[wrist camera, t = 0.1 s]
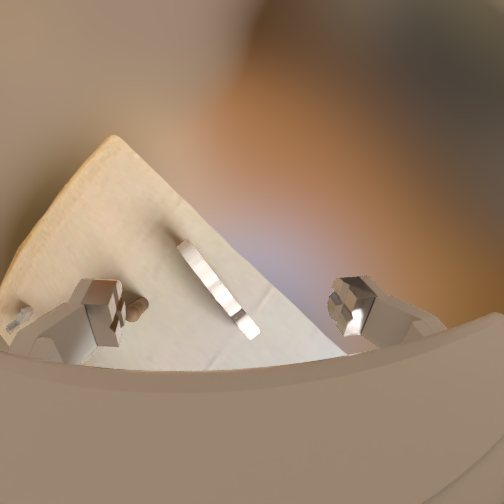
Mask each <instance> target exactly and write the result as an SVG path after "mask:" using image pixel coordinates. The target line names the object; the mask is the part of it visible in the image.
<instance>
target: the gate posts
mask: <svg viewBox="0 0 504 504" xmlns="http://www.w3.org/2000/svg"><path fill="white" fill-rule="evenodd" d="M125 308H126V320H127V321H129V322H135V321H137V320H138V319H139V317H140V315H141V314H142V313H143V312H144V311H145V310H146V309H147V308H148V301H147V300H146V299H145V298H139V299H137V300H136V301H135V302H133V303H132V304H130V305H127V306H126V307H125Z"/></svg>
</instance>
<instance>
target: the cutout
mask: <svg viewBox="0 0 504 504" xmlns="http://www.w3.org/2000/svg"><path fill="white" fill-rule="evenodd" d="M176 248H177V249H178V251H179V252H180V253H181V255H182V256H183V257H184V259H185V260H186V261H187V263H188V264H189V265H190V267H191V268H192V269H193V271H194V272H195V273H196V274H197V276H198V277H199V278H200V280H201V281H202V282H203V283H204V285H205V286H206V287H207V288H208V290H209V291H210V292H211V294H212V295H213V296H214V297H215V299H216V300H217V301H218V302H219V303H220V305H221V306H222V307H223V308H224V310H225V311H226V312H227V313H228V314H229V316H230V317H231V318H232V319H233V321H234V322H235V323H236V324H237V326H238V327H239V328H240V329H241V330H242V332H243V333H244V334H245V335H246V336H247V337H248V338H249V339H250V340H251V339H253V338H254V337H255V336H256V335H258V334H259V333H260V330H259V328H258V327H257V326H256V325H255V323H254V322H253V321H252V320H251V318H250V317H249V316H248V315H247V314H246V312H245V311H244V310H243V309H242V308H241V307H240V305H239V304H238V303H237V302H236V300H235V299H234V298H233V297H232V295H231V294H230V293H229V291H228V290H227V289H226V287H225V286H224V285H223V284H222V282H221V281H220V280H219V278H218V277H217V276H216V275H215V273H214V272H213V271H212V269H211V268H210V267H209V265H208V264H207V263H206V261H205V260H204V259H203V258H202V256H201V255H200V254H199V252H198V251H197V250H196V249H195V247H194V246H193V245H192V243H191V242H190V241H189V240H188V239H186V240H184V241H183V242H182V243H180V244H179V245H178V246H177V247H176Z"/></svg>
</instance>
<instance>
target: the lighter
mask: <svg viewBox="0 0 504 504" xmlns="http://www.w3.org/2000/svg"><path fill="white" fill-rule="evenodd" d="M32 313H33V309H32V308H31V307H30V306H28V307H25V308H21V310H20V312H19V314H18V316H17V318H16V320H14V321H13V322H12V323H10V324H9V325H8V326H7V328H6V330H7V331H8V333H9V334H11V333H12V332H14V331H15V330H16V329H17V328H19V325H20V324H21V323H23V322H26V321H28V320H29V318H30V316H31V314H32Z"/></svg>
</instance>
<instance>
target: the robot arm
mask: <svg viewBox="0 0 504 504" xmlns="http://www.w3.org/2000/svg"><path fill="white" fill-rule="evenodd" d="M332 288H333V290H334V292H333V293H332V294H331V295H330V296H329V300H328V312H329V315H330V316H331V318H332V319H334V320H336V321H337V327H338V329H339V330H340V332H341V334H342V335H343V336H349V335H357V334H361V335H362V336H363V337H364V338H366V339H367V340H369V341H370V342H371V343H373V344H374V345H376V346H377V347H379V348H380V349H375V350H371V351H366V352H362V353H357V354H351V355H346V356H341V357H335V358H329V359H323V360H317V361H310V362H304V363H296V364H288V365H280V366H270V367H260V368H247V369H232V370H212V371H144V370H125V369H111V368H100V367H90V366H81V364H82V363H83V362H84V361H85V359H86V358H87V357H88V356H89V355H90V354H91V353H92V352H93V351H94V350H95V349H96V348H97V346H108V347H119V345H120V341H121V337H122V331H121V328H122V327H123V326H124V324H125V319H126V308H125V301H124V300H123V299H122V297H121V294H122V291H123V290H122V285H121V282H120V280H112V279H94V278H83V279H81V280H80V281H79V283H78V285H77V287H76V288H75V290H74V292H73V294H72V296H71V297H70V299H69V301H68V303H63V304H62V305H60V306H58V307H57V308H55V309H53V310H52V311H50V312H49V313H47V314H45V315H44V316H42V317H41V318H39V319H37V320H36V321H34V322H33V323H31V324H30V325H28V326H26V327H25V328H23V329H22V330H20V331H19V332H18V333H17V335H16V336H15V338H14V340H13V342H12V344H11V346H10V347H9V350H8V351H7V352H3V351H0V504H504V315H503V314H500V313H491V314H489V315H487V316H484V317H482V318H479V319H476V320H474V321H471V322H468V323H466V324H463V325H460V326H457V327H454V328H451V329H447V328H446V327H445V326H444V325H443V324H442V323H441V321H440V320H439V319H438V318H437V317H436V316H434V315H432V314H430V313H428V312H425V311H424V310H421V309H419V308H417V307H415V306H413V305H410V304H408V303H406V302H404V301H402V300H399V299H397V298H395V297H393V296H388V295H387V294H386V293H385V292H384V291H383V290H382V289H381V288H380V287H379V286H378V285H377V284H376V283H375V282H374V281H373V280H372V279H371V278H370V277H369V276H357V277H345V278H336V279H335V281H334V282H333V286H332Z"/></svg>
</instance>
